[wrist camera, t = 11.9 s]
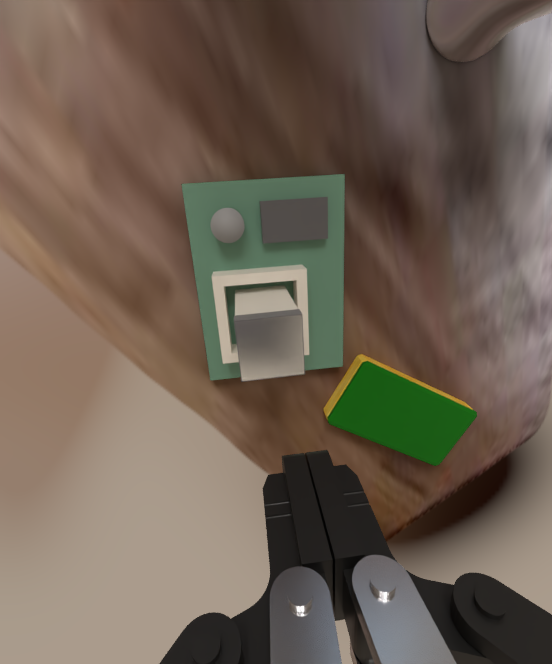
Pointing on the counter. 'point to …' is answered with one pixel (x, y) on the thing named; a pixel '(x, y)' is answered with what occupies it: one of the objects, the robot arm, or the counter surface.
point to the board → (269, 258)
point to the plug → (268, 333)
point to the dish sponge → (398, 411)
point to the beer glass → (477, 24)
